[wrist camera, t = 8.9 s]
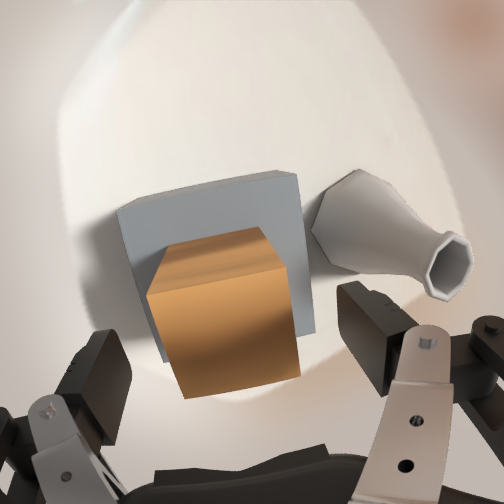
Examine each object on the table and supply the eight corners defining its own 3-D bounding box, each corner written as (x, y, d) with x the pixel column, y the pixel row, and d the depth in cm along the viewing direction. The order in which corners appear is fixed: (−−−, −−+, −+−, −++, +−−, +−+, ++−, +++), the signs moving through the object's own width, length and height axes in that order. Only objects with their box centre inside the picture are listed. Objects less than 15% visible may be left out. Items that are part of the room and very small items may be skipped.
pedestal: (138, 198, 19) (116, 210, 14) (276, 170, 20) (296, 174, 15) (171, 321, 22) (163, 362, 17) (294, 297, 23) (315, 332, 18)
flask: (361, 288, 23) (437, 360, 14) (291, 232, 21) (353, 293, 12) (417, 214, 22) (513, 251, 13) (355, 150, 20) (453, 152, 11)
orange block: (168, 245, 15) (146, 295, 10) (258, 226, 16) (286, 266, 10) (190, 323, 17) (184, 399, 11) (272, 307, 17) (300, 376, 11)
